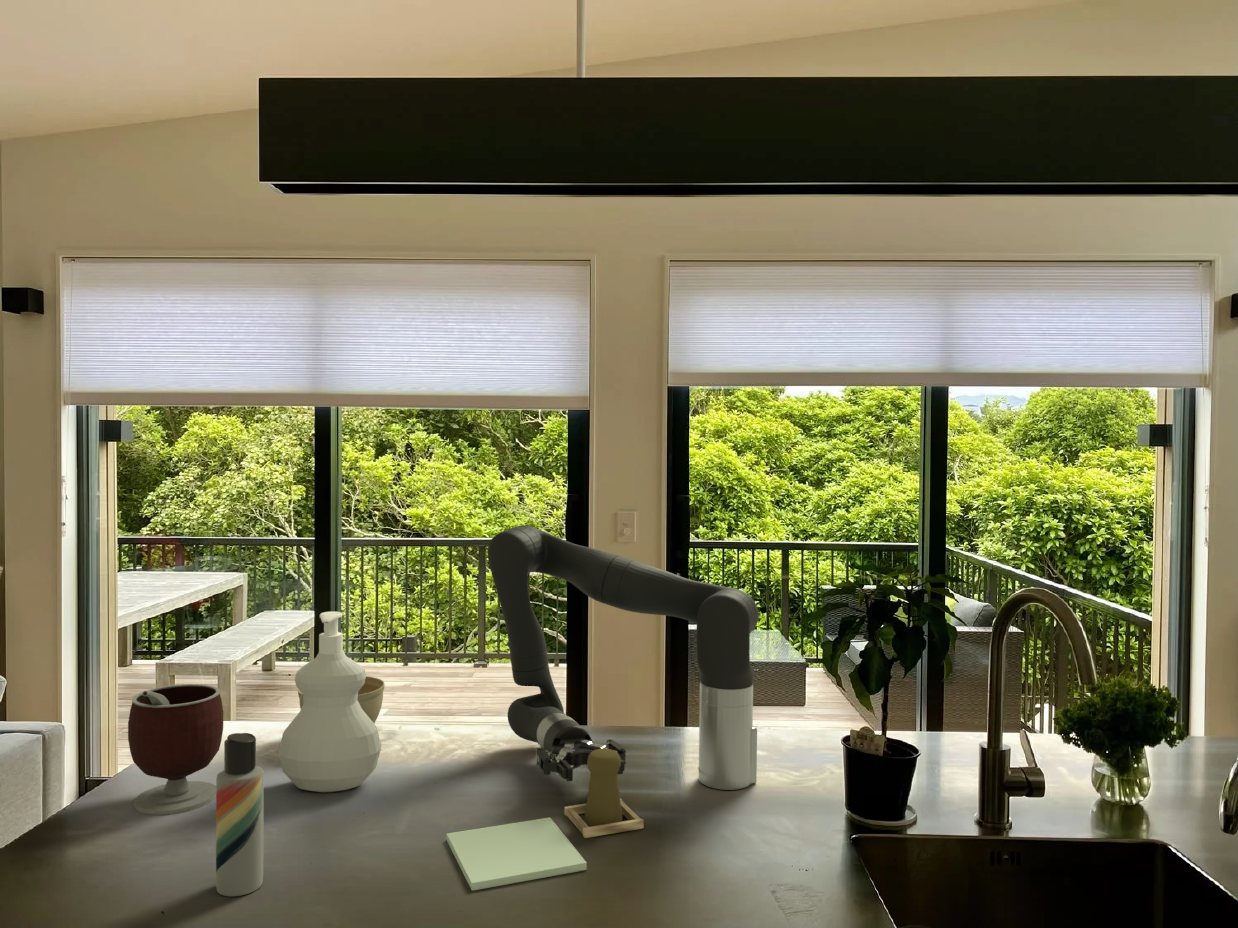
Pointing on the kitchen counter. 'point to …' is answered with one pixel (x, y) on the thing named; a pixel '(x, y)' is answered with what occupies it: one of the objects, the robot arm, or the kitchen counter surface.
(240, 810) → the lotion bottle
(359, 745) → the soap bottle
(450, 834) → the sage board
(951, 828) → the kitchen counter surface
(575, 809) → the oak holder frame
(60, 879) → the kitchen counter surface
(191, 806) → the mate gourd
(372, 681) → the planter bowl
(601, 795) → the cork
